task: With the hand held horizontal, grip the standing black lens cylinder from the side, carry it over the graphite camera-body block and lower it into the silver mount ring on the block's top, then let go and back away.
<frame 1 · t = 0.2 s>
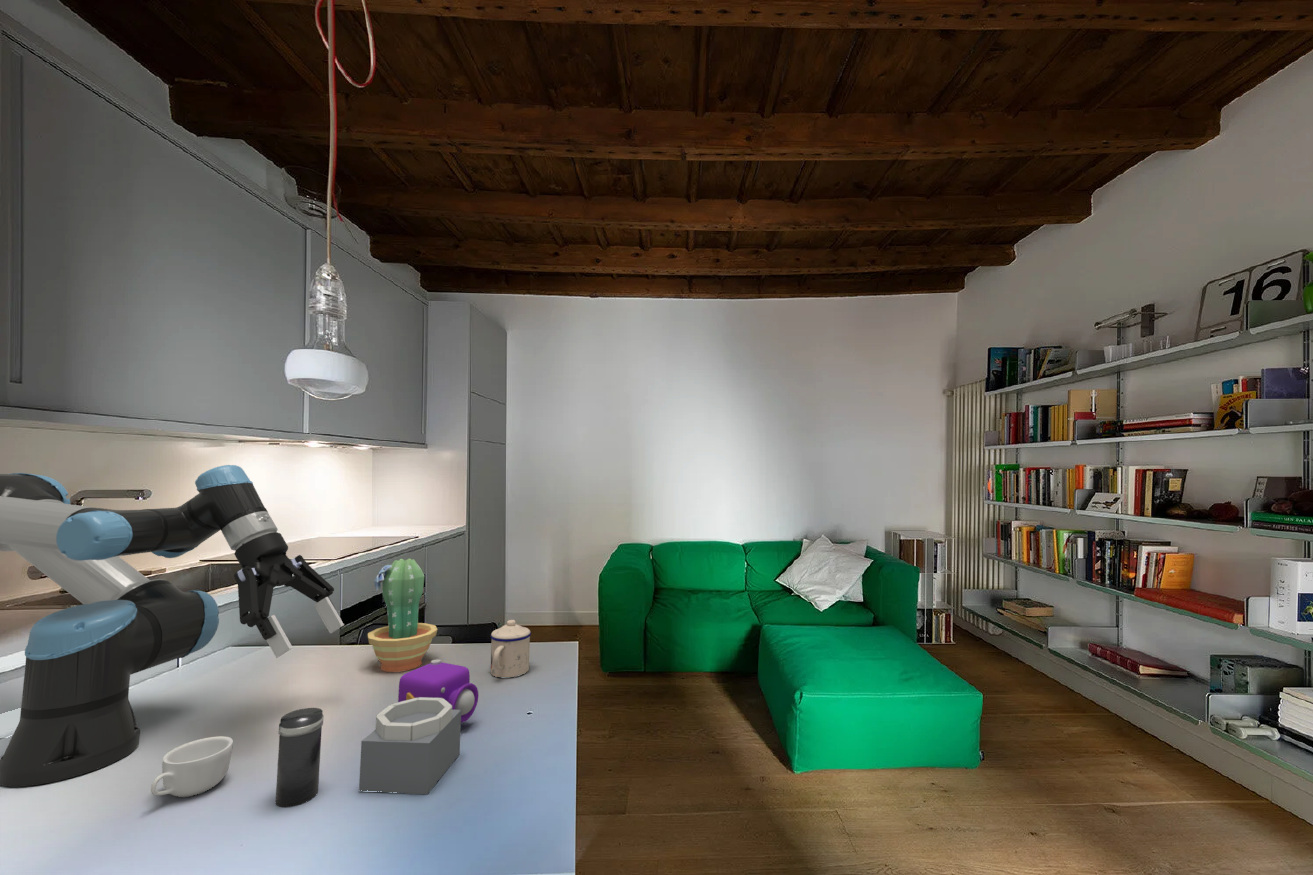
hand: (312, 640, 97), 15 cm above the table, tool tilted 35°, fingers open, 13 cm apart
teacup: (188, 794, 75), on the table
potted cactus: (401, 666, 127), on the table
toy camera: (440, 724, 97), on the table
camera body block: (412, 771, 81), on the table
lens: (297, 796, 74), on the table
teacup with lid: (506, 675, 122), on the table
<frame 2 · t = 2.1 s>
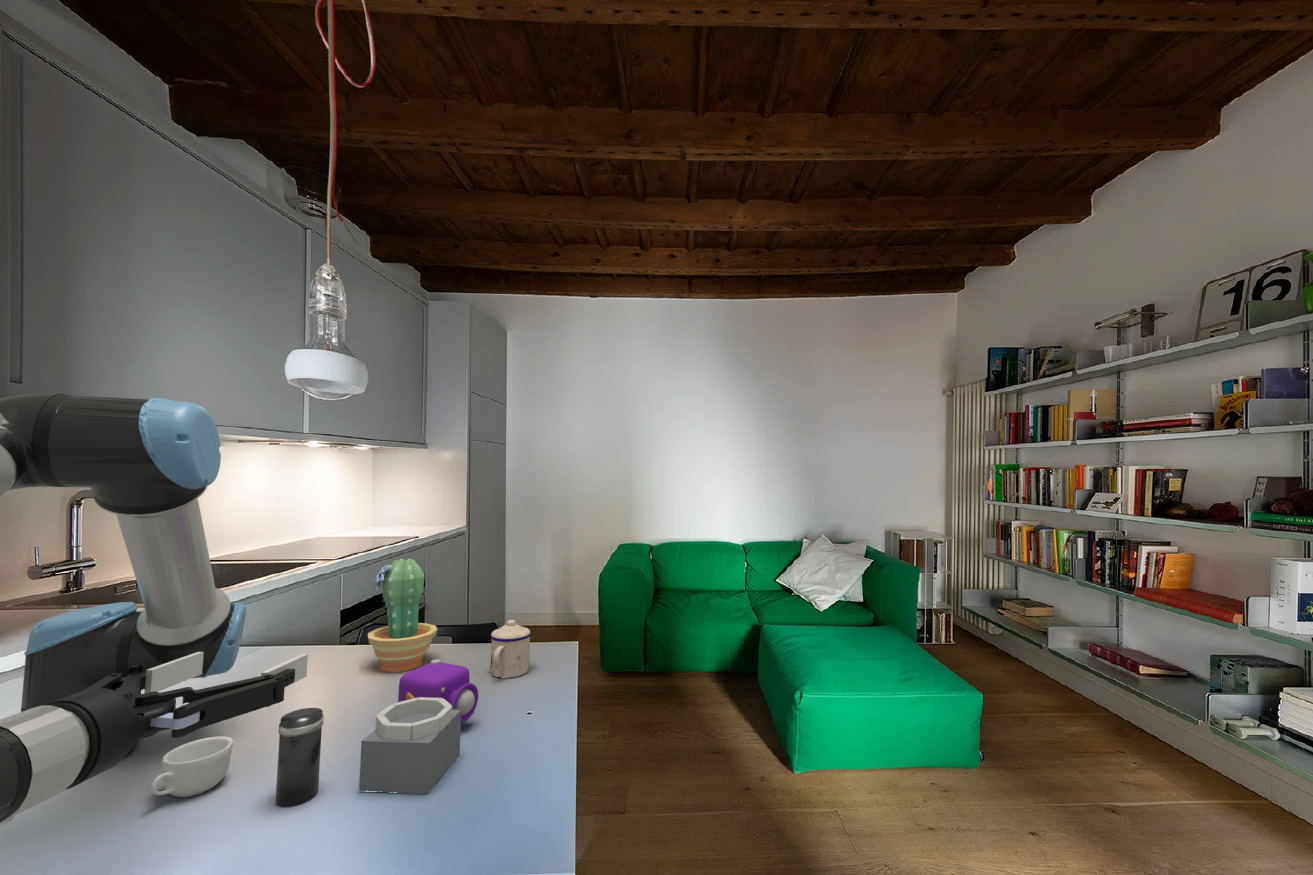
hand: (252, 663, 67), 21 cm above the table, tool horizontal, fingers open, 13 cm apart
nothing on the table moved.
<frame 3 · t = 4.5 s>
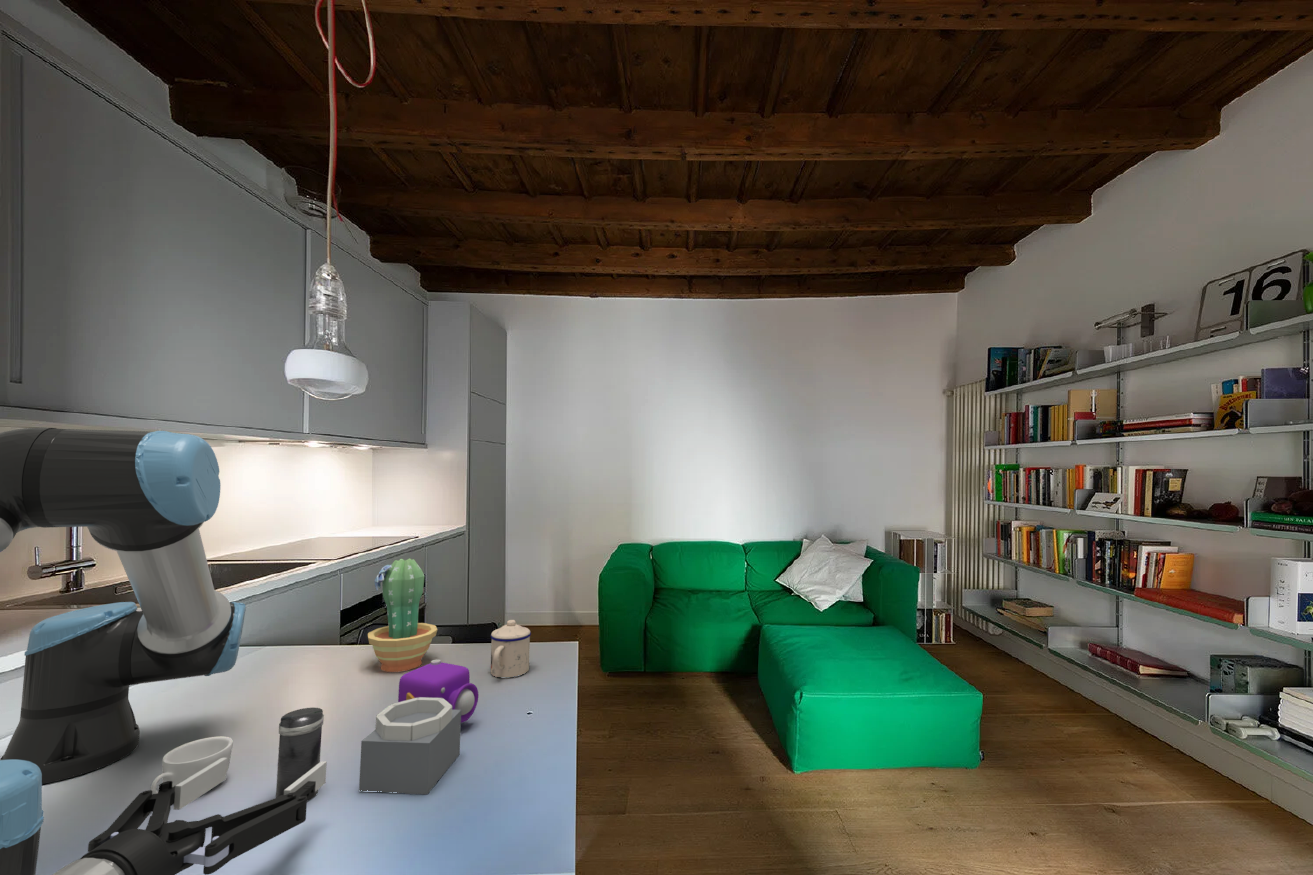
hand: (273, 769, 70), 6 cm above the table, tool horizontal, fingers open, 13 cm apart
nothing on the table moved.
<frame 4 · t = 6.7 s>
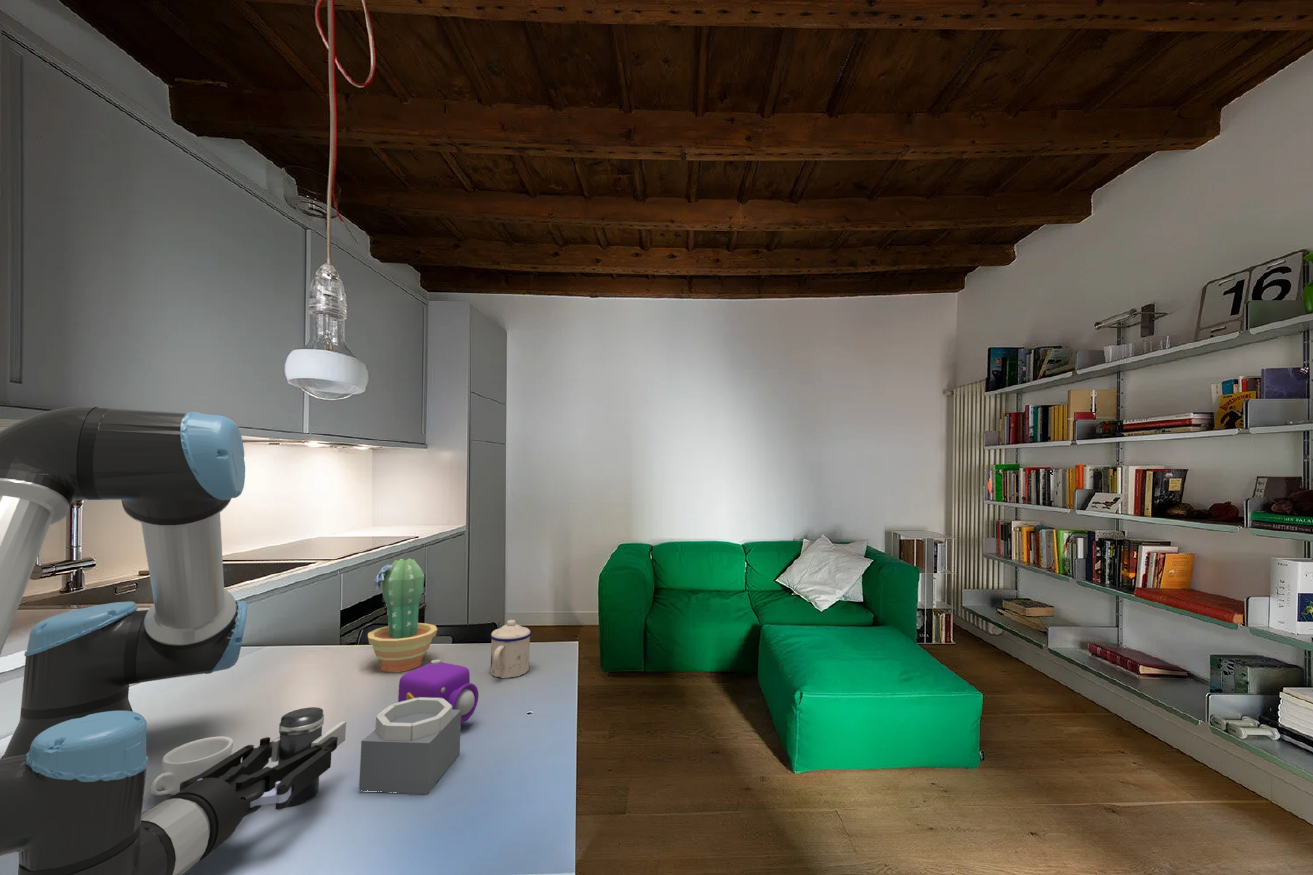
hand: (324, 730, 80), 7 cm above the table, tool horizontal, fingers closed on lens, 5 cm apart
lens: (297, 795, 74), on the table, touching gripper
everything else where it was.
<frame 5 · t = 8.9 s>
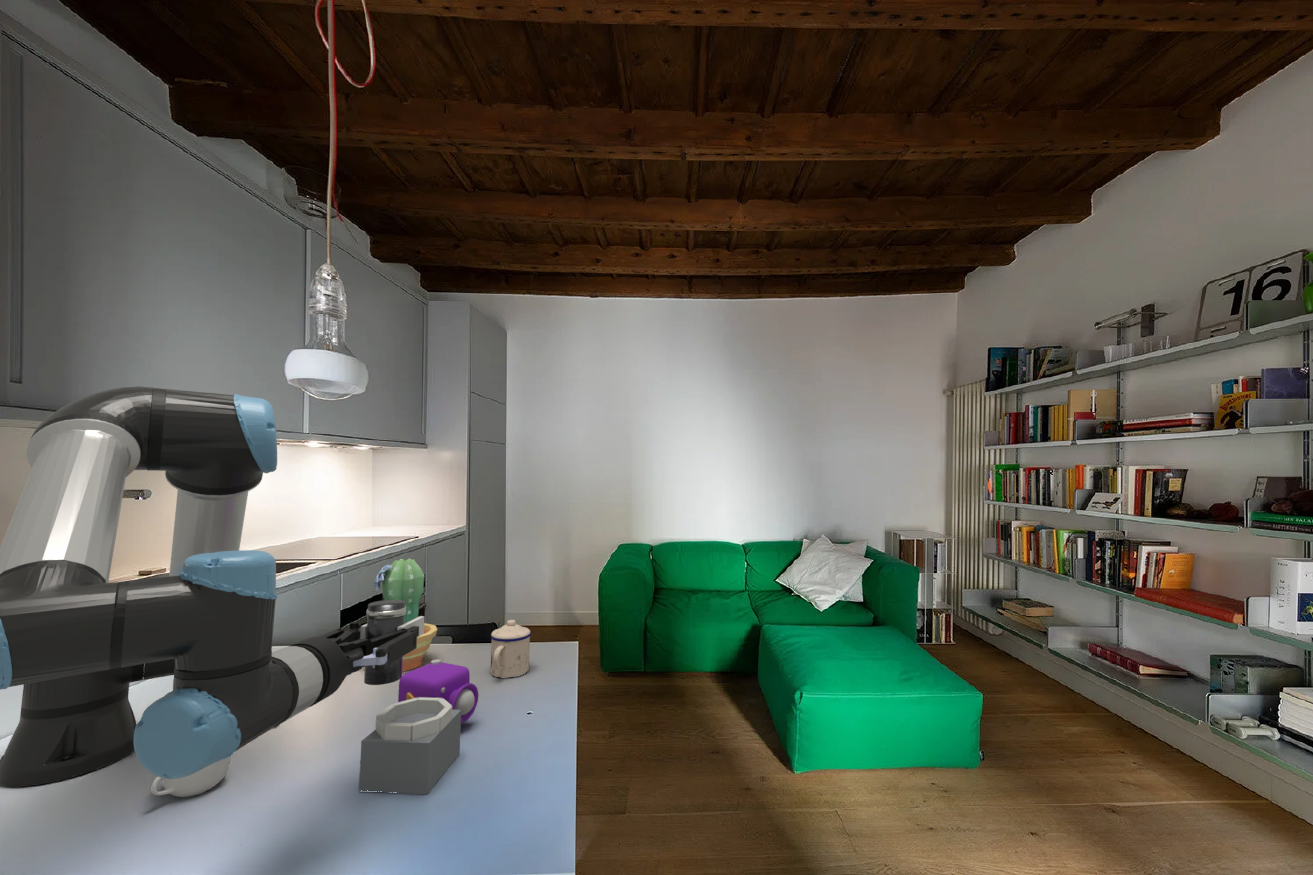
hand: (404, 624, 85), 21 cm above the table, tool horizontal, fingers closed on lens, 5 cm apart
lens: (383, 678, 79), point 15 cm above the table, touching gripper
everything else where it was.
when the fingers open (15 cm above the table, at t = 10.9 s): lens drops 1 cm, resting on camera body block.
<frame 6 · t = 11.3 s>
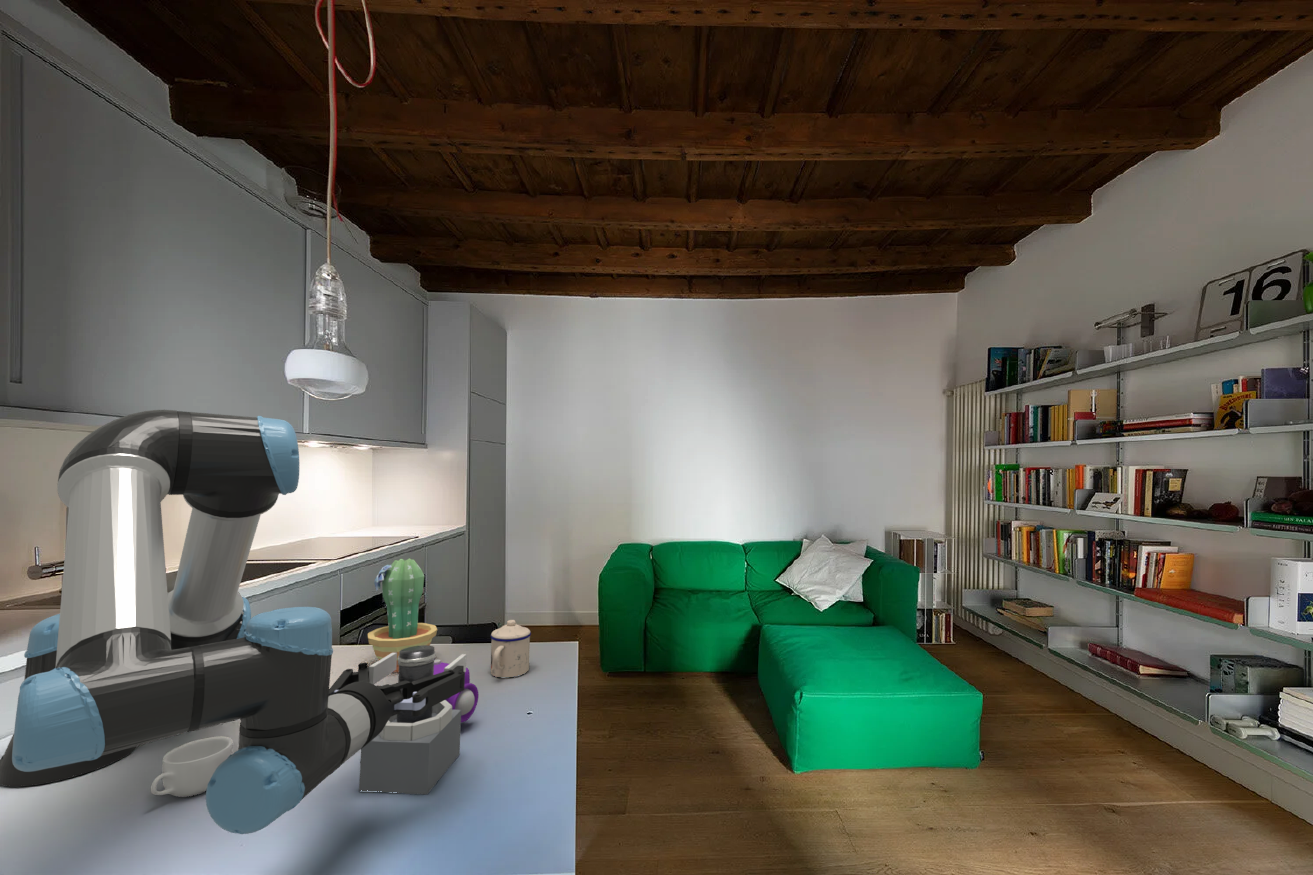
hand: (429, 661, 86), 15 cm above the table, tool horizontal, fingers open, 11 cm apart
lens: (414, 723, 81), point 7 cm above the table, touching camera body block
everything else where it was.
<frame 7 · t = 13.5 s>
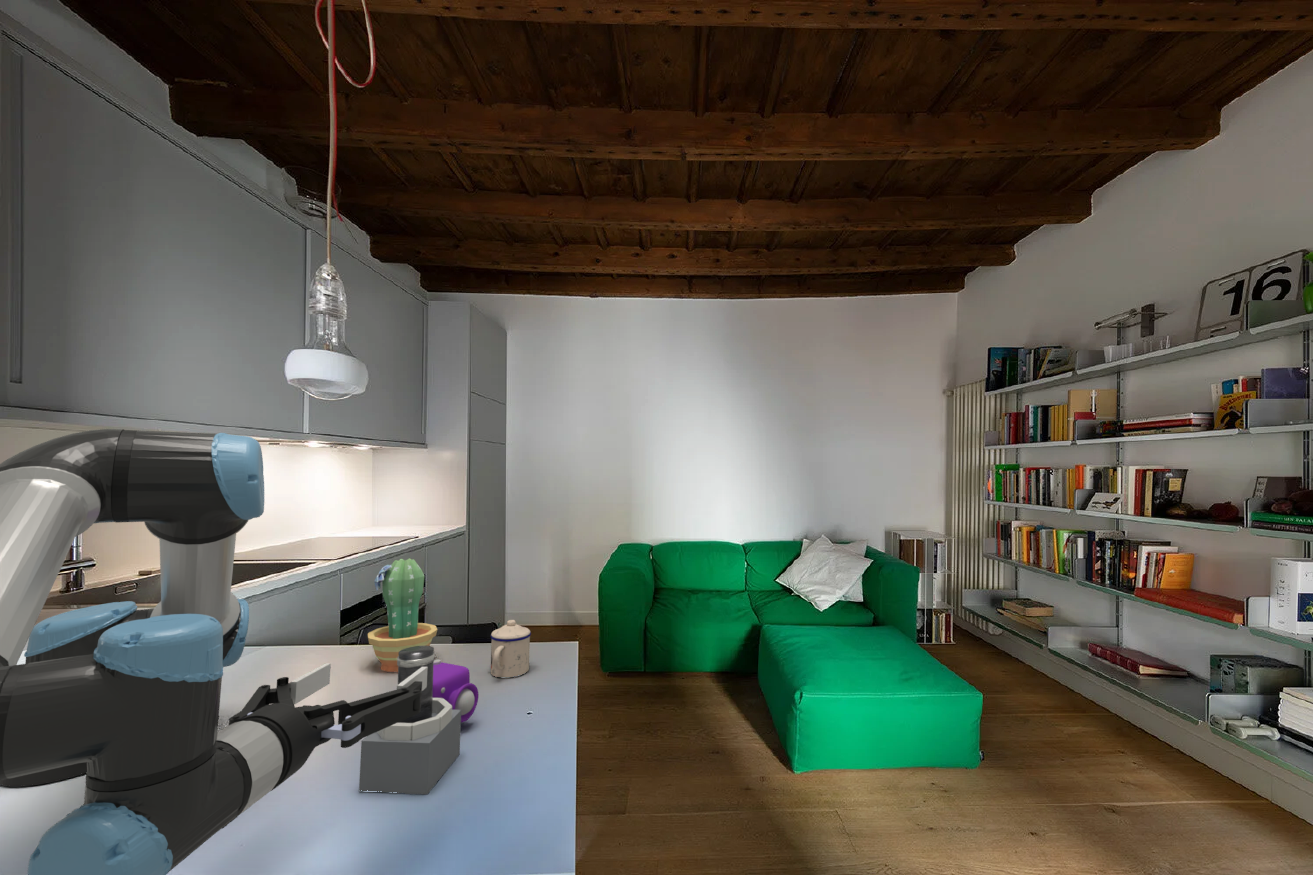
hand: (375, 674, 72), 18 cm above the table, tool horizontal, fingers open, 13 cm apart
nothing on the table moved.
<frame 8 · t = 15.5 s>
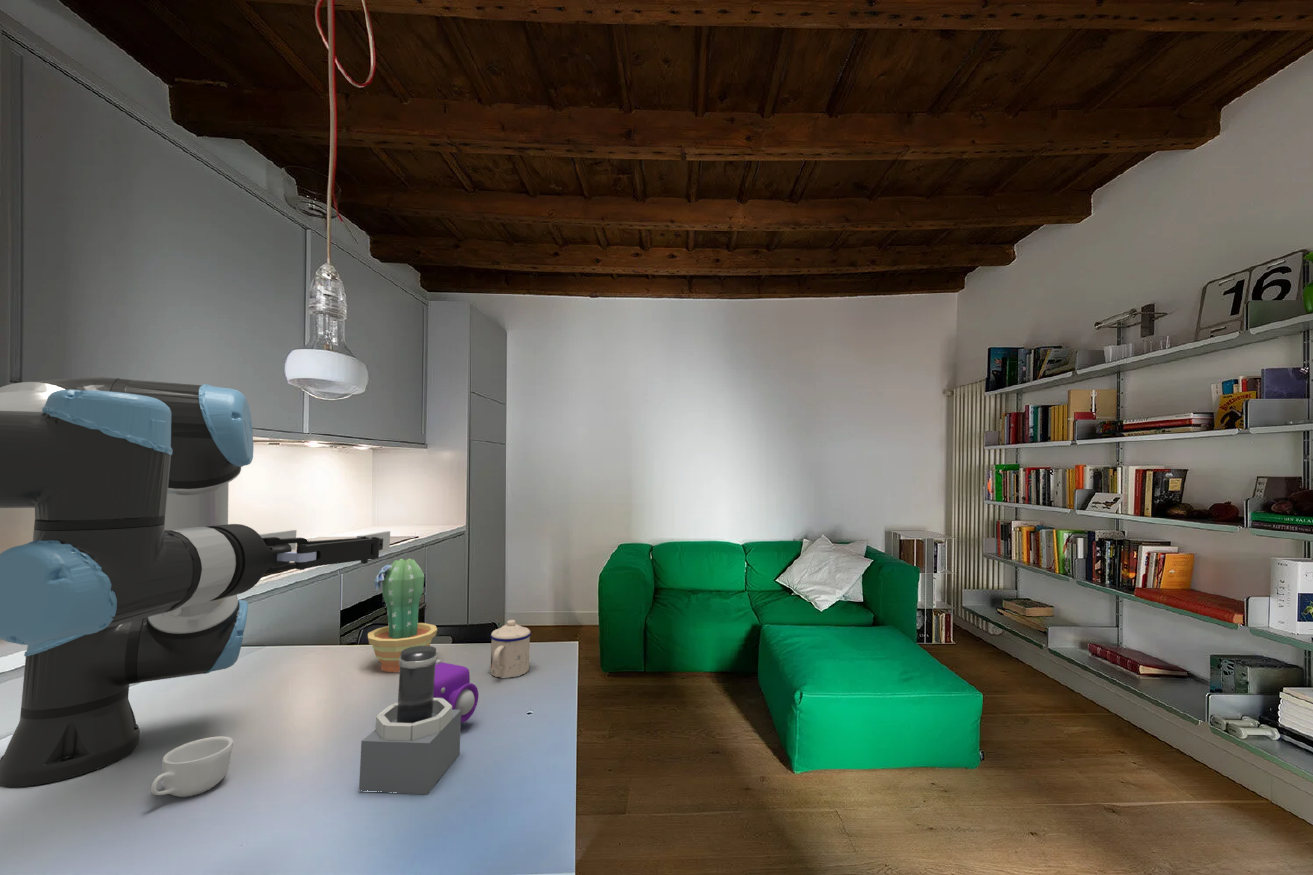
hand: (340, 540, 74), 36 cm above the table, tool horizontal, fingers open, 13 cm apart
nothing on the table moved.
at the end: lens 0.1 cm off-centre on the camera body block, point 7.0 cm above the camera body block's base; lens tilted 1°; the gripper is holding nothing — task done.
